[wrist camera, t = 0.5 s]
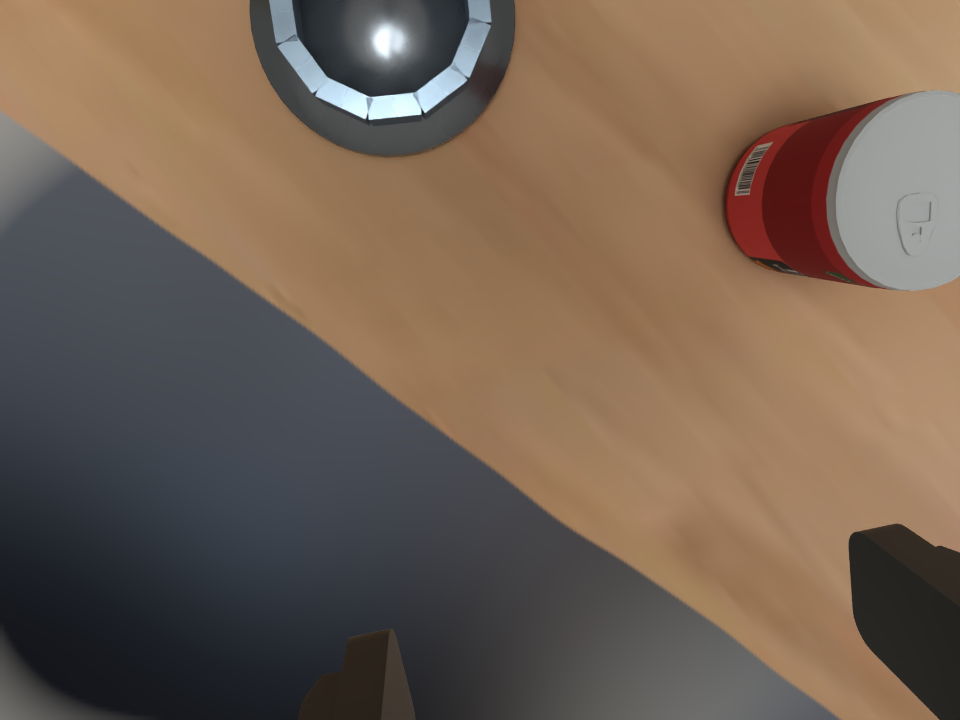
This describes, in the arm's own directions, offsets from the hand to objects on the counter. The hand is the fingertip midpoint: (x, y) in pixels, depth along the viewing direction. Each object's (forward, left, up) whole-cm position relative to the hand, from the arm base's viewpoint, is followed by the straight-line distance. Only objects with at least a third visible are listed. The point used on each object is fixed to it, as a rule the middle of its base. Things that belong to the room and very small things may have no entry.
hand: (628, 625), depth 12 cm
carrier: (-17, -4, -28) cm, 32 cm away
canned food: (-6, +17, -28) cm, 33 cm away
